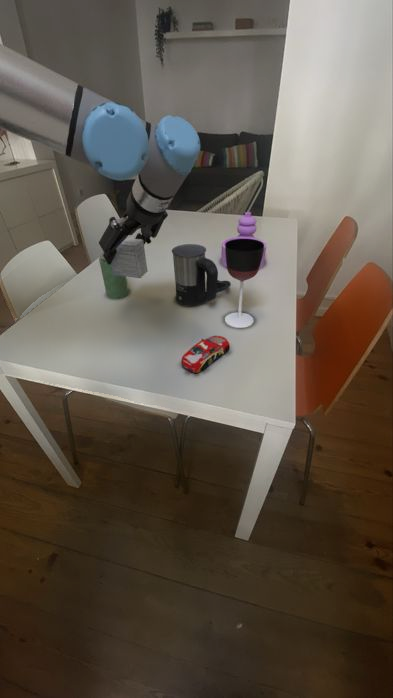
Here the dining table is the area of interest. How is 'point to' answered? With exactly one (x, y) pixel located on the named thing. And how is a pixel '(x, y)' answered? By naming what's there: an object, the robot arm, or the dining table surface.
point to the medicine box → (130, 259)
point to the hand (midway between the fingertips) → (120, 255)
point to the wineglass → (242, 272)
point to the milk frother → (195, 275)
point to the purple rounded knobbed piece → (244, 235)
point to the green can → (113, 281)
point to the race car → (204, 353)
